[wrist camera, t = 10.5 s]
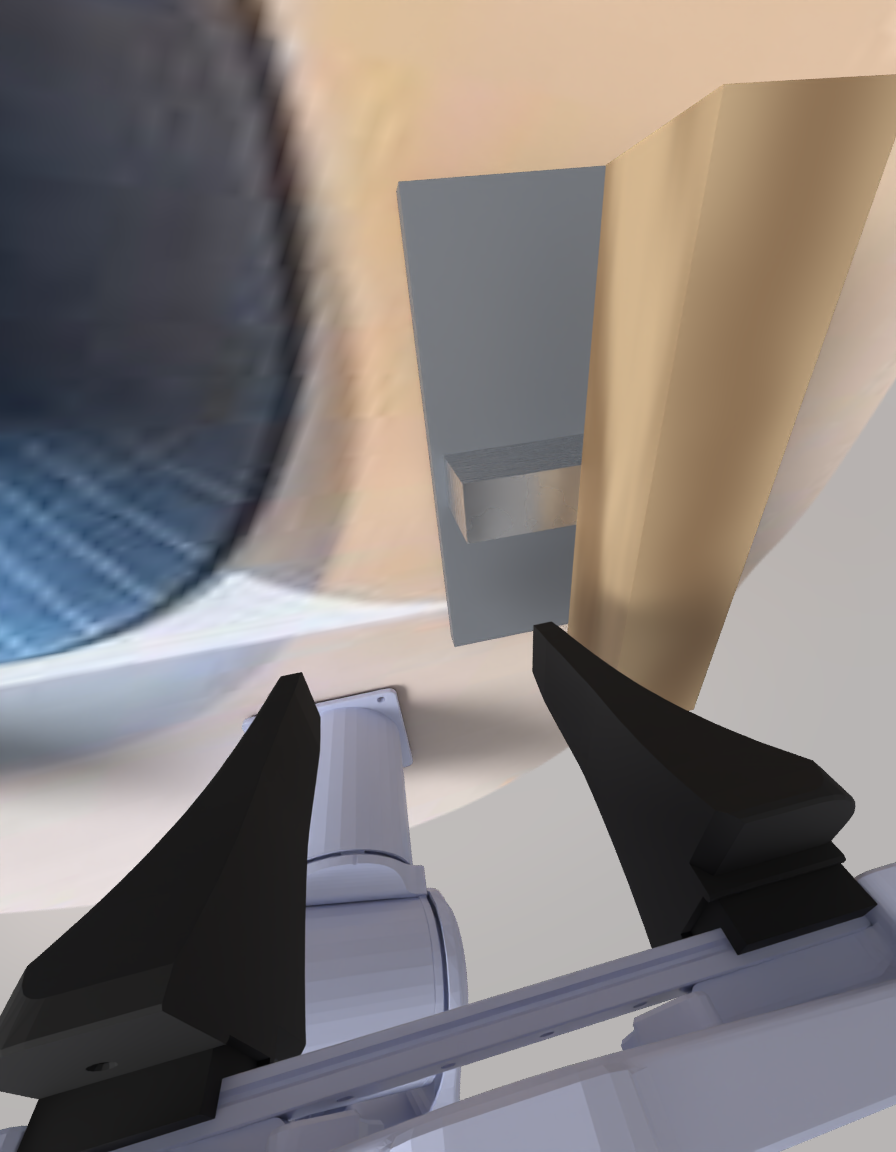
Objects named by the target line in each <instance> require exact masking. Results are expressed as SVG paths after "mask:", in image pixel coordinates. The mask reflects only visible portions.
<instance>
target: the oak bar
mask: <svg viewBox="0 0 896 1152" xmlns="http://www.w3.org/2000/svg"><path fill="white" fill-rule="evenodd" d="M895 137H896V74H893V75H876V76H858V77H841V78H823V79H805V80H788V81H770V82H753V83H735V84H723V85H722V86H721V87H719V88H718V89H716V90H715V91H713V92H712V93H710V94H709V95H707V96H706V97H704V98H703V99H702V100H700V101H699V102H697V103H696V104H694V105H693V106H691V107H690V108H688V109H687V110H686V111H684V112H683V113H681V114H680V115H678V116H677V117H675V118H674V119H672V120H671V121H670V122H668V123H667V124H665V125H664V126H662V127H661V128H659V129H658V130H656V131H655V132H654V133H652V134H651V135H649V136H648V137H646V138H645V139H643V140H642V141H640V142H639V143H638V144H636V145H635V146H633V147H632V148H630V149H629V150H627V151H626V152H624V153H623V154H622V155H620V156H619V157H617V158H616V159H614V160H613V161H611V162H610V163H608V164H607V165H606V170H605V182H604V195H603V207H602V219H601V231H600V243H599V255H598V268H597V280H596V292H595V304H594V316H593V328H592V341H591V353H590V365H589V377H588V389H587V401H586V414H585V426H584V438H583V450H582V462H581V474H580V487H579V499H578V511H577V523H576V535H575V547H574V560H573V572H572V584H571V596H570V608H569V620H568V634H569V635H570V636H571V637H573V638H574V639H575V640H577V641H578V642H579V643H580V644H582V645H583V646H584V647H586V648H587V649H588V650H590V651H591V652H592V653H594V654H595V655H596V656H598V657H599V658H601V659H602V660H603V661H605V662H606V663H608V664H609V665H610V666H612V667H613V668H615V669H616V670H618V671H619V672H621V673H622V674H624V675H625V676H627V677H628V678H630V679H632V680H633V681H635V682H636V683H638V684H640V685H641V686H643V687H645V688H646V689H648V690H650V691H652V692H653V693H655V694H657V695H659V696H661V697H662V698H664V699H666V700H668V701H670V702H671V703H673V704H675V705H677V706H679V707H681V708H683V709H685V710H687V711H690V710H693V709H694V707H695V704H696V701H697V698H698V695H699V693H700V690H701V687H702V684H703V681H704V678H705V676H706V673H707V670H708V667H709V664H710V661H711V659H712V655H713V653H714V650H715V647H716V644H717V642H718V639H719V636H720V633H721V630H722V627H723V625H724V622H725V619H726V616H727V613H728V610H729V608H730V604H731V602H732V599H733V596H734V593H735V591H736V588H737V585H738V582H739V579H740V576H741V574H742V571H743V568H744V565H745V562H746V559H747V557H748V554H749V551H750V548H751V545H752V543H753V540H754V537H755V534H756V531H757V528H758V526H759V523H760V520H761V517H762V514H763V511H764V509H765V506H766V503H767V500H768V497H769V494H770V492H771V489H772V486H773V483H774V480H775V477H776V475H777V472H778V469H779V466H780V463H781V460H782V458H783V455H784V452H785V449H786V446H787V443H788V441H789V438H790V435H791V432H792V429H793V426H794V424H795V421H796V418H797V415H798V412H799V409H800V407H801V404H802V401H803V398H804V395H805V392H806V390H807V387H808V384H809V381H810V378H811V375H812V373H813V370H814V367H815V364H816V361H817V358H818V356H819V353H820V350H821V347H822V344H823V341H824V339H825V336H826V333H827V330H828V327H829V324H830V322H831V319H832V316H833V313H834V310H835V307H836V305H837V302H838V299H839V296H840V293H841V290H842V288H843V285H844V282H845V279H846V276H847V273H848V271H849V268H850V265H851V262H852V259H853V256H854V254H855V251H856V248H857V245H858V242H859V239H860V237H861V234H862V231H863V228H864V225H865V222H866V220H867V217H868V214H869V211H870V208H871V205H872V203H873V200H874V197H875V194H876V191H877V188H878V186H879V183H880V180H881V177H882V174H883V171H884V169H885V166H886V163H887V160H888V157H889V154H890V152H891V149H892V146H893V143H894V140H895Z"/></svg>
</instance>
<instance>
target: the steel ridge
mask: <svg viewBox="0 0 896 1152" xmlns="http://www.w3.org/2000/svg"><path fill="white" fill-rule="evenodd" d="M583 438H584V434H579V435H572V436H566V437H559V438H553V439H546V440H540V441H533V442H526V443H520V444H513V445H507V446H500V447H494V448H487V449H481V450H474V451H467V452H461V453H454V454H448V455H443V460H444V470H445V479H446V489H447V499H448V507H449V509H450V511H451V512H452V514H453V516H454V518H455V520H456V522H457V524H458V526H459V528H460V530H461V532H462V534H463V536H464V538H465V540H466V542H467V544H469V543H475V542H481V541H486V540H492V539H498V538H503V537H509V536H514V535H520V534H526V533H531V532H537V531H543V530H548V529H554V528H560V527H565V526H571V525H576V523H577V511H578V499H579V487H580V474H581V462H582V450H583Z"/></svg>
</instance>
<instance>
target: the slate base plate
mask: <svg viewBox="0 0 896 1152" xmlns="http://www.w3.org/2000/svg"><path fill="white" fill-rule="evenodd" d="M605 170H606V166H594V167H581V168H569V169H556V170H543V171H530V172H517V173H504V174H491V175H479V176H466V177H453V178H440V179H427V180H414V181H401V182H399V183H398V187H397V191H396V192H397V200H398V209H399V217H400V225H401V233H402V241H403V249H404V257H405V265H406V273H407V281H408V289H409V297H410V306H411V314H412V322H413V330H414V338H415V346H416V354H417V362H418V370H419V378H420V386H421V395H422V403H423V411H424V419H425V427H426V435H427V443H428V451H429V459H430V467H431V475H432V483H433V492H434V500H435V508H436V516H437V524H438V532H439V540H440V548H441V556H442V564H443V572H444V581H445V589H446V597H447V605H448V613H449V621H450V629H451V637H452V640H453V643H454V647H457V646H462V645H467V644H471V643H476V642H481V641H486V640H491V639H496V638H501V637H506V636H510V635H515V634H520V633H525V632H530V631H533V625H536V624H541V623H546V622H551V621H552V622H553V623H555V624H556V625H557V626H559V625H564V624H568V620H569V608H570V596H571V584H572V572H573V560H574V547H575V535H576V525H571V526H565V527H560V528H554V529H548V530H543V531H537V532H531V533H526V534H520V535H514V536H509V537H503V538H498V539H492V540H486V541H481V542H475V543H469V544H467V542H466V540H465V538H464V536H463V534H462V532H461V530H460V528H459V526H458V524H457V522H456V520H455V518H454V516H453V514H452V512H451V511H450V509H449V507H448V499H447V489H446V479H445V470H444V460H443V455H448V454H454V453H461V452H467V451H474V450H481V449H487V448H494V447H500V446H507V445H513V444H520V443H526V442H533V441H540V440H546V439H553V438H559V437H566V436H572V435H579V434H584V426H585V414H586V401H587V389H588V377H589V365H590V353H591V341H592V328H593V316H594V304H595V292H596V280H597V268H598V255H599V243H600V231H601V219H602V207H603V195H604V182H605Z"/></svg>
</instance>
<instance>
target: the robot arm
mask: <svg viewBox="0 0 896 1152" xmlns="http://www.w3.org/2000/svg"><path fill="white" fill-rule="evenodd" d="M532 672H533V674H534V677H535V679H536V682H537V685H538V687H539V690H540V692H541V694H542V697H543V699H544V701H545V703H546V705H547V707H548V709H549V711H550V713H551V714H552V716H553V718H554V720H555V722H556V724H557V726H558V727H559V729H560V731H561V733H562V735H563V736H564V738H565V740H566V742H567V744H568V746H569V747H570V749H571V751H572V753H573V755H574V757H575V758H576V760H577V762H578V764H579V766H580V768H581V770H582V772H583V774H584V776H585V778H586V780H587V783H588V785H589V787H590V790H591V792H592V794H593V796H594V799H595V801H596V803H597V806H598V808H599V811H600V813H601V815H602V818H603V820H604V823H605V825H606V828H607V830H608V833H609V835H610V837H611V840H612V842H613V845H614V847H615V850H616V853H617V855H618V858H619V860H620V863H621V865H622V868H623V870H624V873H625V876H626V878H627V881H628V884H629V886H630V889H631V892H632V894H633V897H634V900H635V903H636V905H637V908H638V911H639V913H640V916H641V919H642V921H643V924H644V927H645V930H646V933H647V936H648V939H649V942H650V944H651V947H652V949H649V950H646V951H642V952H639V953H636V954H633V955H629V956H626V957H623V958H619V959H616V960H613V961H609V962H606V963H603V964H600V965H596V966H593V967H589V968H586V969H583V970H580V971H576V972H573V973H570V974H566V975H563V976H560V977H556V978H554V979H550V980H547V981H544V982H540V983H537V984H533V985H530V986H527V987H523V988H520V989H517V990H513V991H510V992H507V993H504V994H500V995H497V996H494V997H490V998H487V999H484V1000H481V1001H477V1002H474V1003H471V1004H468V985H467V972H466V963H465V955H464V949H463V944H462V939H461V935H460V931H459V927H458V924H457V921H456V918H455V916H454V913H453V911H452V909H451V908H450V907H449V905H448V904H447V902H446V901H445V899H444V897H443V896H442V894H441V893H440V892H439V891H438V890H437V889H435V888H426V880H425V872H424V866H422V865H413V864H412V854H411V843H410V833H409V823H408V813H407V803H406V793H405V782H404V772H403V767H407V766H410V765H411V764H412V763H413V759H412V754H411V750H410V746H409V742H408V738H407V733H406V729H405V725H404V721H403V717H402V713H401V709H400V705H399V701H398V697H397V693H396V691H395V690H394V689H391V688H387V689H382V690H378V691H373V692H368V693H363V694H359V695H354V696H349V697H345V698H340V699H335V700H330V701H326V702H321V703H316V704H315V702H314V700H313V697H312V695H311V693H310V690H309V688H308V685H307V683H306V681H305V678H304V676H303V673H302V672H300V673H295V674H290V675H286V676H281V677H280V679H279V680H278V681H277V683H276V685H275V686H274V688H273V690H272V691H271V693H270V694H269V696H268V698H267V699H266V701H265V703H264V704H263V706H262V707H261V709H260V711H259V712H258V714H257V715H256V716H255V717H250V718H247V719H245V720H244V722H243V725H242V729H243V731H244V732H245V734H244V735H243V737H242V738H241V740H240V741H239V743H238V744H237V746H236V747H235V749H234V750H233V751H232V753H231V754H230V756H229V757H228V758H227V760H226V761H225V763H224V764H223V765H222V767H221V768H220V770H219V771H218V772H217V774H216V775H215V776H214V778H213V779H212V780H211V782H210V783H209V784H208V785H207V787H206V788H205V789H204V790H203V792H202V793H201V794H200V795H199V797H198V798H197V799H196V800H195V802H194V803H193V804H192V805H191V806H190V808H189V809H188V810H187V811H186V812H185V814H184V815H183V816H182V817H181V818H180V819H179V820H178V821H177V823H176V824H175V825H174V826H173V827H172V828H171V829H170V830H169V831H168V832H167V833H166V835H165V836H164V837H163V838H162V839H161V840H160V841H159V842H158V843H157V844H156V845H155V847H154V848H153V849H152V850H151V851H150V852H149V853H148V854H147V855H146V856H145V857H144V858H143V859H142V860H141V861H140V862H139V863H138V864H137V865H136V866H135V867H134V868H133V869H132V870H131V871H130V872H129V873H128V874H127V875H126V876H125V877H124V878H123V879H122V880H121V881H120V882H119V883H118V884H117V885H116V886H115V887H114V888H113V889H112V890H111V891H110V892H109V893H108V894H107V895H106V896H105V897H104V898H103V899H102V900H101V901H100V902H98V903H97V904H96V905H95V906H94V907H93V908H92V909H91V910H90V911H89V912H88V913H87V914H86V915H84V916H83V917H82V918H81V919H80V920H79V921H78V922H77V923H75V924H74V925H73V926H72V927H71V928H70V929H69V930H68V931H67V932H66V933H64V934H63V935H62V936H61V937H60V938H59V939H58V940H56V942H54V943H53V944H52V945H51V946H50V947H49V948H48V949H46V950H45V951H44V952H43V953H42V954H41V955H40V956H38V957H37V958H36V959H35V960H34V961H33V962H31V963H30V964H29V965H28V966H27V968H26V969H25V971H24V973H23V975H22V976H21V978H20V980H19V982H18V984H17V986H16V987H15V989H14V991H13V993H12V995H11V997H10V999H9V1001H8V1002H7V1004H6V1006H5V1008H4V1010H3V1012H2V1014H1V1016H0V1091H1V1092H6V1093H11V1094H16V1095H21V1096H25V1097H30V1098H36V1099H39V1100H38V1102H37V1105H36V1107H35V1110H34V1112H33V1114H32V1116H31V1119H30V1122H29V1124H28V1126H18V1127H11V1128H6V1129H2V1130H0V1152H780V1151H783V1150H785V1149H788V1148H790V1147H792V1146H795V1145H798V1144H800V1143H802V1142H805V1141H807V1140H809V1139H812V1138H815V1137H817V1136H820V1135H822V1134H824V1133H827V1132H829V1131H832V1130H834V1129H837V1128H839V1127H842V1126H844V1125H847V1124H849V1123H852V1122H854V1121H856V1120H859V1119H861V1118H864V1117H866V1116H869V1115H871V1114H874V1113H876V1112H879V1111H881V1110H884V1109H886V1108H888V1107H891V1106H893V1105H896V862H895V863H892V864H888V865H885V866H881V867H878V868H875V869H872V870H869V871H866V872H864V873H862V874H860V875H858V876H856V877H855V878H853V876H852V875H851V874H850V873H849V872H848V871H847V870H846V869H845V868H844V866H843V865H842V864H841V863H844V861H845V860H846V858H845V856H844V854H843V853H842V852H841V851H840V850H839V849H838V848H837V847H836V846H835V845H834V844H833V843H832V841H831V840H832V839H833V838H834V837H835V836H836V835H837V834H838V832H839V831H840V830H841V829H842V828H843V827H844V826H845V824H846V823H847V822H848V821H849V819H850V818H851V817H852V815H853V814H854V811H855V801H854V799H853V798H852V796H851V795H849V794H848V793H847V792H846V791H845V790H844V789H843V788H842V787H841V786H840V785H839V784H838V783H837V782H835V781H834V780H833V779H832V778H831V777H830V776H829V775H828V774H827V773H826V772H825V771H824V770H823V769H822V768H821V767H820V766H818V765H817V764H816V763H815V762H814V761H813V760H810V759H807V758H804V757H801V756H798V755H796V754H793V753H790V752H787V751H784V750H781V749H778V748H775V747H773V746H770V745H767V744H764V743H761V742H759V741H756V740H754V739H751V738H748V737H746V736H744V735H741V734H739V733H736V732H734V731H731V730H729V729H726V728H724V727H722V726H720V725H717V724H715V723H713V722H710V721H708V720H706V719H704V718H702V717H700V716H698V715H696V714H694V713H691V712H689V711H687V710H685V709H683V708H681V707H679V706H677V705H675V704H673V703H671V702H670V701H668V700H666V699H664V698H662V697H661V696H659V695H657V694H655V693H653V692H652V691H650V690H648V689H646V688H645V687H643V686H641V685H640V684H638V683H636V682H635V681H633V680H632V679H630V678H628V677H627V676H625V675H624V674H622V673H621V672H619V671H618V670H616V669H615V668H613V667H612V666H610V665H609V664H608V663H606V662H605V661H603V660H602V659H601V658H599V657H598V656H596V655H595V654H594V653H592V652H591V651H590V650H588V649H587V648H586V647H584V646H583V645H582V644H580V643H579V642H578V641H577V640H575V639H574V638H573V637H571V636H570V635H569V634H568V633H566V632H565V631H564V630H562V629H561V628H560V627H559V626H557V625H556V624H555V623H553V622H552V621H551V622H546V623H541V624H536V625H533V668H532ZM379 697H382V698H379ZM677 997H678V998H677ZM674 998H676V999H674ZM671 999H674V1000H671ZM668 1000H671V1001H669V1002H667V1003H665V1004H663V1005H661V1006H659V1007H657V1008H654V1009H653V1010H650V1011H648V1012H646V1013H644V1014H642V1015H640V1016H637V1017H635V1018H634V1022H633V1026H634V1030H633V1032H631V1033H630V1034H629V1035H628V1036H627V1037H626V1038H624V1039H623V1040H622V1044H621V1047H622V1049H623V1051H620V1052H616V1053H612V1054H608V1055H605V1056H601V1057H597V1058H594V1059H590V1060H587V1061H583V1062H580V1063H576V1064H572V1065H569V1066H565V1067H562V1068H559V1069H555V1070H553V1071H549V1072H546V1073H542V1074H539V1075H536V1076H532V1077H529V1078H526V1079H523V1080H520V1081H517V1082H514V1083H511V1084H508V1085H505V1086H502V1087H498V1088H495V1089H492V1090H490V1091H486V1092H484V1093H481V1094H478V1095H475V1096H472V1097H470V1098H466V1099H464V1100H461V1101H460V1075H461V1066H464V1065H467V1064H470V1063H473V1062H476V1061H480V1060H483V1059H486V1058H489V1057H492V1056H495V1055H498V1054H501V1053H505V1052H507V1051H511V1050H514V1049H517V1048H520V1047H524V1046H527V1045H529V1044H533V1043H536V1042H539V1041H542V1040H545V1039H549V1038H552V1037H555V1036H558V1035H561V1034H564V1033H567V1032H570V1031H574V1030H577V1029H580V1028H583V1027H586V1026H589V1025H592V1024H595V1023H599V1022H602V1021H605V1020H608V1019H611V1018H614V1017H618V1016H621V1015H623V1014H627V1013H630V1012H633V1011H636V1010H639V1009H643V1008H646V1007H649V1006H652V1005H655V1004H658V1003H662V1002H665V1001H668Z"/></svg>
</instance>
